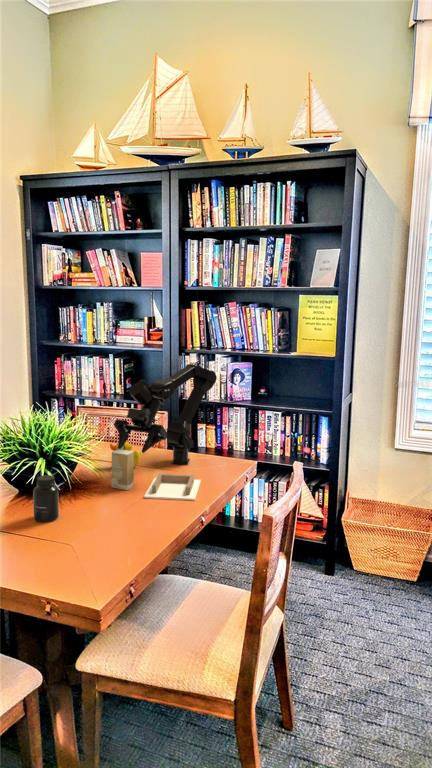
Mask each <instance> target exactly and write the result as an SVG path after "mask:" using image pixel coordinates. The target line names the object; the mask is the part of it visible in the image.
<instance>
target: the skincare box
mask: <svg viewBox="0 0 432 768" xmlns="http://www.w3.org/2000/svg"><path fill="white" fill-rule="evenodd" d="M134 451H135V450H134ZM134 451H132V450H130V451H128V450H121V449H117V450H115V451H113V450H112V452H111V481H110V483H111V485H110V486H111V488H115V489H118V490H125V491H128V490H130V489H131V488H133V487H134V478H135V477H134V472H135V466H134Z"/></svg>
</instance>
